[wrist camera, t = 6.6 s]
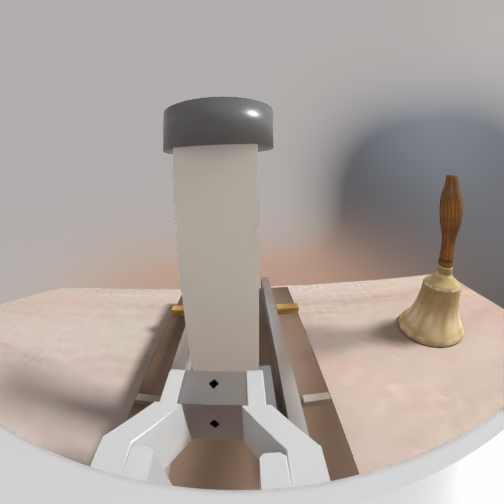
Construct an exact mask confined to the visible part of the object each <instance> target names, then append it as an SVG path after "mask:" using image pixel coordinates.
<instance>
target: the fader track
mask: <svg viewBox="0 0 504 504" xmlns="http://www.w3.org/2000/svg"><path fill="white" fill-rule="evenodd" d="M171 312H172V317H171V319H170V321H169V324H168V326H167V328H166V330H165V332H164V335H163V337H162V339H161V341H160V343H159V346H158V348H157V350H156V352H155V355H154V357H153V359H152V362H151V364H150V366H149V369H148V371H147V373H146V376H145V378H144V380H143V383H142V385H141V387H140V390H139V392H138V394H137V396H136V399H135V402H134V405H133V407H132V410H131V412H130V415H129V417H128V420H129V419H130V418H132V417H133V416H135V415H136V414H138V413H139V412H141V411H142V410H144V409H145V408H146V407H148V406H149V405H151V404H152V403H154V402H159V401H160V398H161V395H162V392H163V389H164V386H165V383H166V380H167V377H168V374H169V371H170V370H171V369H179V370H191V367H192V363H191V357H190V350H189V344H188V337H187V331H186V323H185V316H184V308H183V300H182V296H181V298H180V300H179V302H178V304H177V306H173V308H172V310H171ZM268 365H270V367H271V373H272V380H273V386H274V393H275V399H276V406H277V410H278V411H279V412H280V413H281V414H282V415H283V416H285V417H286V418H287V419H288V420H289V421H290V422H292V423H293V424H294V425H295V426H296V427H298V428H299V429H300V430H301V431H302V432H304V433H305V434H306V435H307V436H309V437H310V438H311V439H312V440H314V441H315V442H316V443H317V444H319V445H320V446H321V447H322V451H323V455H324V458H325V462H326V466H327V469H328V473H329V477H330V481H333V480H338V479H343V478H347V477H351V476H355V475H359V472H358V469H357V466H356V464H355V461H354V458H353V455H352V452H351V450H350V447H349V444H348V441H347V439H346V436H345V433H344V431H343V428H342V425H341V423H340V420H339V417H338V415H337V412H336V409H335V407H334V404H333V401H332V399H331V396H330V393H329V391H328V388H327V386H326V383H325V380H324V378H323V375H322V373H321V370H320V367H319V365H318V362H317V360H316V357H315V355H314V352H313V350H312V347H311V344H310V342H309V339H308V337H307V334H306V332H305V329H304V327H303V324H302V322H301V319H300V317H299V314H298V306H297V303H294V302H293V300H292V297H291V295H290V292H289V290H288V287H282V288H271V286H270V282H269V278H268V277H264V278H261V288H259V366H268ZM259 463H260V461H259V460H258V458H257V457H256V456H255V455H254V453H253V452H252V451H251V450H250V448H249V447H248V446H247V445H246V443H245V442H244V440H206V439H191V442H190V443H189V444H188V445H187V446H186V447H185V448H184V449H183V450H182V451H181V452H180V453H179V454H178V455H177V456H176V458H175V459H174V460H173V461H172V462H171V463H170V464H169V465H168V466H167V467H166V468H165V469H164V472H165V473H166V475H167V477H168V479H169V480H170V482H171V484H172V485H173V486H180V487H189V488H200V489H216V490H259Z"/></svg>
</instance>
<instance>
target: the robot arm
mask: <svg viewBox="0 0 504 504" xmlns="http://www.w3.org/2000/svg"><path fill="white" fill-rule="evenodd" d="M246 380H247V382H246ZM191 439H206V440H244V442H245V443H246V445H247V446H248V447H249V448H250V450H251V451H252V452H253V453H254V455H255V456H256V457H257V458H258V460H259V461H260V463H259V490H216V489H200V488H189V487H180V486H173V485H172V484H171V482H170V480H169V479H168V477H167V475H166V473H165V472H164V469H165V468H166V467H167V466H168V465H169V464H170V463H171V462H172V461H173V460H174V459H175V458H176V456H177V455H178V454H179V453H180V452H181V451H182V450H183V449H184V448H185V447H186V446H187V445H188V444H189V443H190V442H191ZM0 504H504V408H503V409H502V410H500V411H499V412H497V413H496V414H494V415H493V416H491V417H490V418H488V419H487V420H485V421H483V422H482V423H480V424H478V425H477V426H475V427H473V428H472V429H470V430H468V431H466V432H465V433H463V434H461V435H459V436H457V437H455V438H453V439H452V440H450V441H448V442H446V443H443V444H441V445H439V446H437V447H435V448H433V449H431V450H428V451H426V452H424V453H421V454H419V455H417V456H414V457H412V458H409V459H406V460H404V461H401V462H398V463H395V464H392V465H389V466H386V467H383V468H380V469H377V470H374V471H370V472H367V473H363V474H359V475H355V476H351V477H347V478H343V479H338V480H333V481H330V477H329V473H328V469H327V466H326V462H325V458H324V455H323V451H322V447H321V446H320V445H319V444H317V443H316V442H315V441H314V440H312V439H311V438H310V437H309V436H307V435H306V434H305V433H304V432H302V431H301V430H300V429H299V428H298V427H296V426H295V425H294V424H293V423H292V422H290V421H289V420H288V419H287V418H286V417H285V416H283V415H282V414H281V413H280V412H279V411H278V410H277V409H276V408H274V407H273V406H272V405H266V396H265V387H264V378H263V371H262V370H251V371H247V372H246V371H197V370H179V369H171V370H170V371H169V374H168V377H167V380H166V383H165V386H164V389H163V392H162V395H161V398H160V401H159V402H154V403H152V404H151V405H149V406H148V407H146V408H145V409H144V410H142V411H141V412H139V413H138V414H136V415H135V416H133V417H132V418H130V419H129V420H127V421H126V422H124V423H123V424H121V425H120V426H118V427H117V428H115V429H114V430H112V431H110V432H109V433H107V434H106V435H104V436H103V437H102V440H101V442H100V444H99V446H98V449H97V451H96V453H95V456H94V458H93V461H92V463H91V465H90V466H87V465H84V464H81V463H79V462H76V461H73V460H71V459H68V458H65V457H63V456H60V455H58V454H56V453H53V452H51V451H49V450H47V449H45V448H42V447H40V446H38V445H36V444H34V443H32V442H30V441H28V440H26V439H24V438H22V437H21V436H19V435H17V434H15V433H13V432H12V431H10V430H8V429H7V428H5V427H3V426H2V425H0Z"/></svg>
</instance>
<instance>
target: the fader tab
mask: <svg viewBox="0 0 504 504" xmlns="http://www.w3.org/2000/svg"><path fill="white" fill-rule="evenodd" d="M163 126H164V127H163V150H164V151H163V152H164V153H168V154H173V179H174V180H173V181H174V206H175V221H176V223H175V224H176V238H177V251H178V262H179V272H180V282H181V292H182V300H183V308H184V316H185V323H186V331H187V337H188V344H189V350H190V357H191V363H192V367H191V370H197V371H246V372H247V371H251V370H262V371H263V378H264V387H265V396H266V405H272V406H273V407H274V408H276V409H277V406H276V399H275V393H274V386H273V380H272V373H271V367H270V365H268V366H259V210H258V152H259V151H267V150H271V149H273V110H272V108H271V107H270V106H269V105H267V104H265V103H263V102H260V101H256V100H252V99H246V98H237V97H208V98H199V99H193V100H188V101H184V102H180V103H177V104H175V105H172V106H170V107H168V108H167V109H166V110H165V111H164V125H163ZM246 382H247V380H246Z"/></svg>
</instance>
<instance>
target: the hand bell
mask: <svg viewBox="0 0 504 504" xmlns="http://www.w3.org/2000/svg"><path fill="white" fill-rule="evenodd" d="M462 216H463V198H462V193H461V189H460V185H459V180H458V176H453V175H447V176H446V181H445V185H444V188H443V191H442V195H441V199H440V225H441V232H442V244H441V251H440V258H439V265H438V270H437V272H436V273H434V274H431V275H428V276H426V277H425V278H424V280H423V283H422V287H421V290H420V292H419V295H418V297H417V299H416V301H415V302H414V304H413V305H412V306H411V307H410V308H408V309H406V310H405V311H404V312H403V313H402V314H401V315H400V317H399V319H398V325H399V327H400V329H401V331H402V332H403V333H404V334H405V335H406V336H407V337H409V338H410V339H412V340H414V341H416V342H418V343H421V344H424V345H427V346H432V347H448V346H452V345H455V344H457V343H459V342H460V341H461V340H462V338H463V336H464V327H463V324H462V322H461V321H460V317H459V298H460V290H461V286H460V283H459V282H458V281H457V280H456V279H455V278H454V277H453V276H452V270H453V259H454V250H455V241H456V237H457V234H458V231H459V229H460V226H461V222H462Z"/></svg>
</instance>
